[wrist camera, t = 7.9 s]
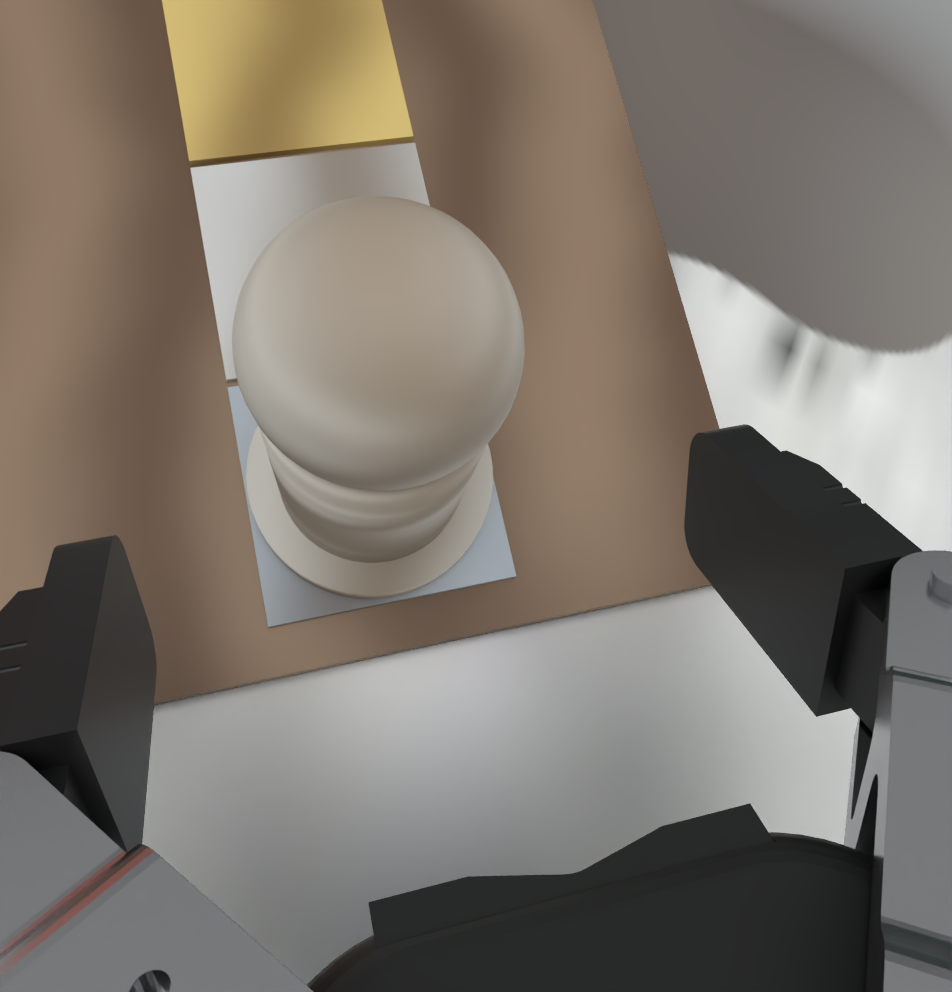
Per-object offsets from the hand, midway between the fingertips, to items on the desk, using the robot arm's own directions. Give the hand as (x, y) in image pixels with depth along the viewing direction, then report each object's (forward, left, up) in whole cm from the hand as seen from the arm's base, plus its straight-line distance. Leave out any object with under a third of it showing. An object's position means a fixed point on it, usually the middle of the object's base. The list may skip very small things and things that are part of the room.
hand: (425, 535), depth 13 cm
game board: (-4, +10, -9) cm, 14 cm away
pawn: (0, +3, -8) cm, 9 cm away
